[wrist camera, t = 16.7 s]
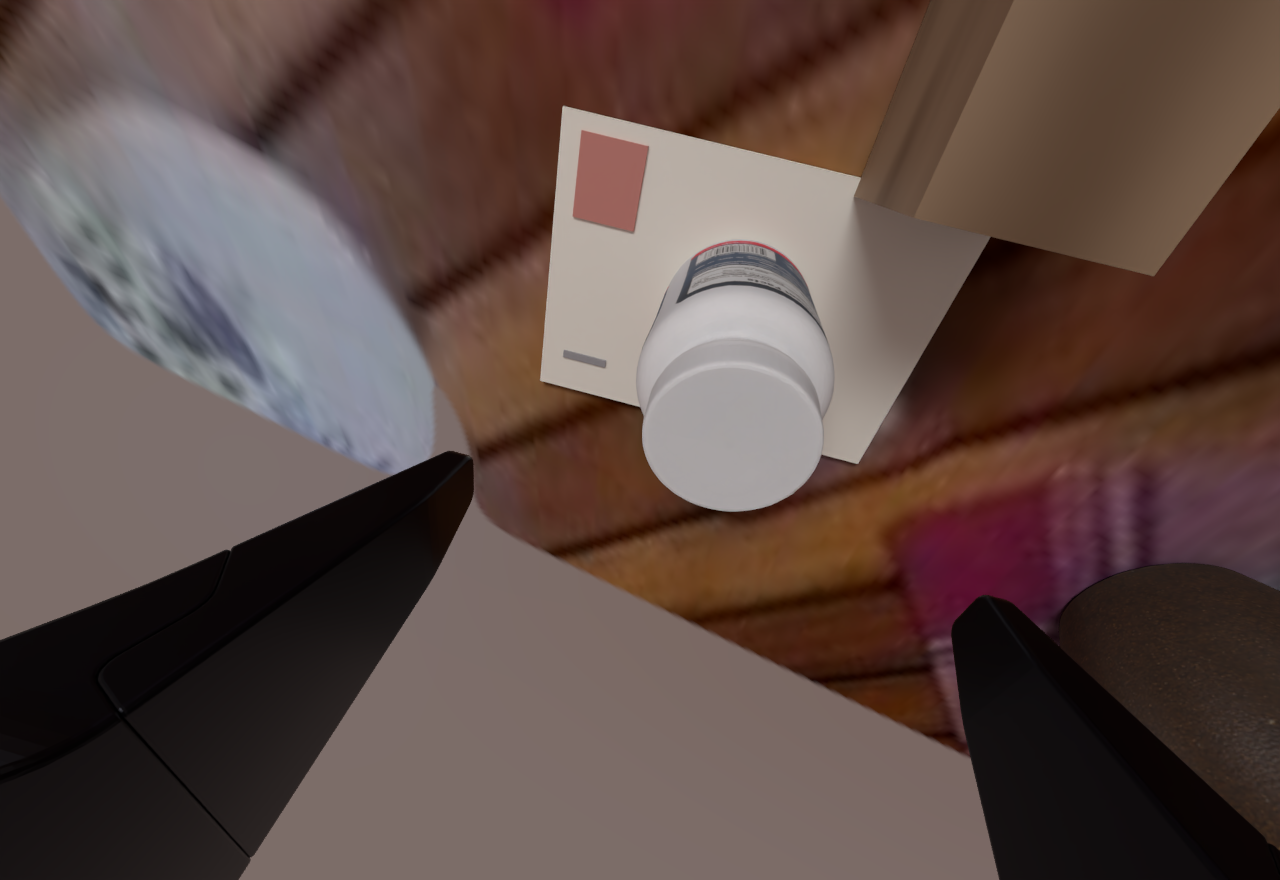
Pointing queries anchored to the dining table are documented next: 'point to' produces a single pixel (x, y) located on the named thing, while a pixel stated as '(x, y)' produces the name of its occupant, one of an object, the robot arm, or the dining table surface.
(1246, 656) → the plant pot
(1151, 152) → the walnut block
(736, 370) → the pill bottle
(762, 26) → the dining table surface
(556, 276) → the letter
